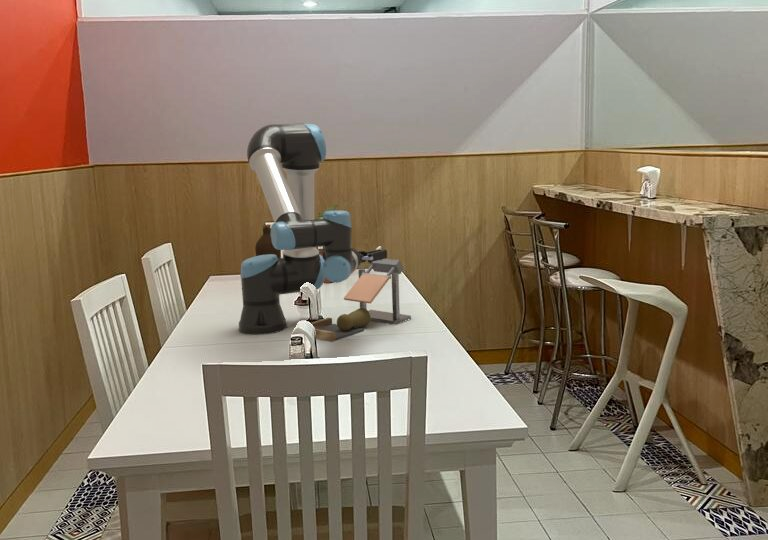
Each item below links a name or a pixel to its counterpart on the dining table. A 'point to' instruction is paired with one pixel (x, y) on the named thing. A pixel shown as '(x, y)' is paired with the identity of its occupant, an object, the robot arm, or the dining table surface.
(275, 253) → the olive oil
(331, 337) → the wooden picture frame
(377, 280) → the drop flap
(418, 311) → the dining table surface
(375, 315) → the flap stand
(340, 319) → the cork
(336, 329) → the mat
